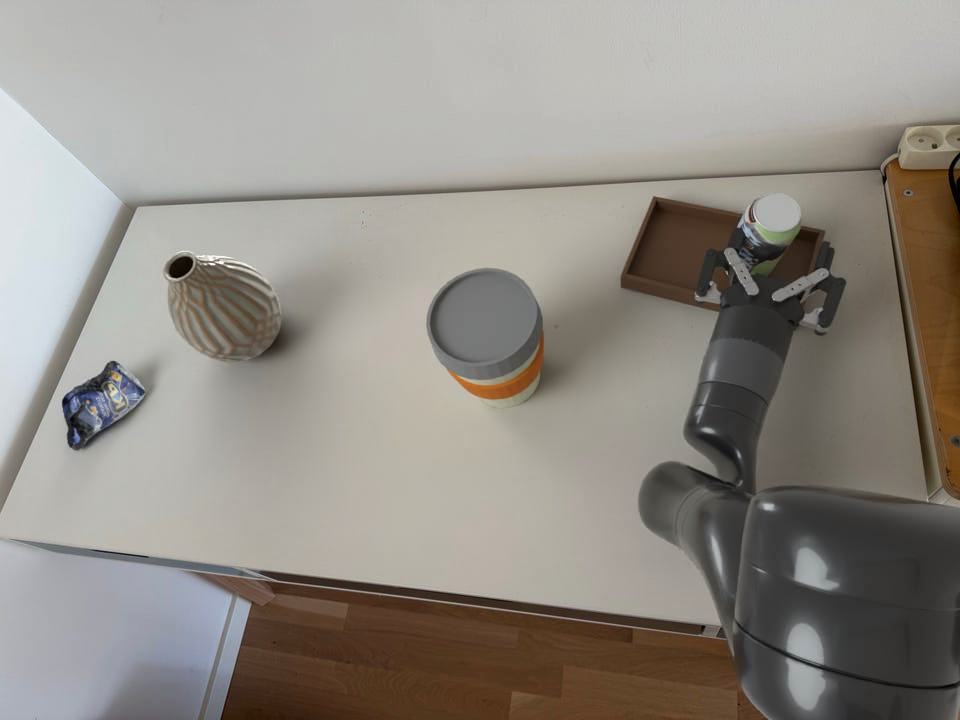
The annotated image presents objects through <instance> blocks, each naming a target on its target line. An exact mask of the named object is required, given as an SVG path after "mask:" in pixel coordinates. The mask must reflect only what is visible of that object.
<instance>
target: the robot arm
mask: <svg viewBox="0 0 960 720" xmlns="http://www.w3.org/2000/svg"><path fill="white" fill-rule="evenodd" d="M744 236H745V232H744V231H743V228H742V225H741V227H740V228H738V227H735V228H734V229H733V231H732V234H731V237H730V239H729V242H728V245H727V247H726V249H724V250H722V251H717V250H715V249H708V250H707V251H706V255H705V258H704V262H703V265H702V269H701V272H700V276H699V279H698V283H697V286H696V292H695V298H694V302H695V303H696V304H698V305H702V304H704V303H705V301H706V302H711V303H716V304H719V306H720V312H718V316H717V319H716V322H715V325H714V329H713V330H712V334H711V337H710V340H709V343H708V345H707V348H706V351H705V354H704V356H703V357H702V362H701V366H700V370H699V373H698V379H697V385H696V388H695V391H694V394H693V396H692V400H691V402H690V405H689V409H688V411H687V414H686V417H685V420H684V423H683V428H682V436H683V438H684V440H685V441H686V443H687V444H688V445H689V446H690V447H691V448H693V449H694V450H695V451H696V452H697V453H699V454H700V455H702V456H703V457H704V458H706V460H708V461H709V462H710V463H711V464H712V465H713V466H714V469H715V470H716V475H717V476H715V475H712V474H710V473H709V472H706V471H703V470H701V469H698V468H696V467H694V466H692V465H689V464H687V463H684V462H681V461H678V460H666V461H663V462H660V463H658V464H657V465H655V466H653V468H651V469H650V470H649V471H648V473H647V474H646V475H645V477H644V478H643V480H642V482H641V484H640V488H639V490H638V494H637V509H638V515H639V518H640V520H641V522H642V524H643V525H644V526H645V528H647V529H648V530H649V531H650V532H651V533H653V534H654V535H656V536H658V537H659V538H661V539H662V540H664V541H665V542H667V543H669V544H671V545H673V546H675V547H676V548H677V549H679V550H681V551H682V552H683V553H684V555H686V557H687V558H688V559H689V560H690V562H691V563H692V564H693V566H695V567H696V569H697V570H698V571H699V573H700V574H701V576H702V578H703V580H704V582H705V585H706V587H707V589H708V592H709V594H710V596H711V600H712V602H713V604H714V607H715V610H716V613H717V616H718V618H719V623H720V624H721V627H722V629H723V630H722V631H723V633H724V637H725V639H726V643H727V647H728V651H729V656H730V659H731V660H730V661H731V664H732V668H733V672H734V674H735V677H736V680H737V682H738V684H739V686H740V688H741V690H742V691H743V693H744V695H745V696H746V697H747V698H748V700H749V702H750V703H751V704H752V705H753V706H754V707H755V708H756V709H757V710H758V711H759V712H760V713H761V714H762V715H763V716H764V717H765V718H766V719H767V720H958V718H959V712H960V507H958V506H952V505H946V504H941V503H937V502H936V503H935V502H930V501H925V500H919V499H914V498H908V497H903V496H899V495H892V494H886V493H880V492H874V491H869V490H868V491H867V490H860V489H853V488H846V487H840V486H831V485H830V486H829V485H820V484H819V485H818V484H783V485H781V484H780V485H777V486H772V487H768V488H764V489H763V490H761V491H759V492H758V489H757V461H758V460H757V459H758V447H759V441H760V438H761V435H762V430H763V428H764V425H765V421H766V417H767V414H768V410H769V408H770V405H771V403H772V401H773V398H774V396H775V394H776V393H777V389H778V386H779V383H780V381H781V377H782V374H783V370H784V367H785V363H786V360H787V356H788V353H789V349H790V346H791V343H792V339H793V336H794V333H795V331H796V330H795V328H796V327H797V328H798V327H800V326H802V327H806V328H810V329H813V332H814V334H815V335H816V336H818V337H824V336H826V335H827V333H828V331H829V329H830V327H831V326H832V324H833V322H834V319H835V316H836V314H837V311H838V308H839V305H840V302H841V299H842V297H843V294H844V291H845V288H846V286H847V280H846V279H845V278H844V277H840V276H838V277H835V276H834V275H833V274H832V273H831V267H832V265H833V260H834V256H835V253H836V251H835V247H831V246H830V245H831V241H827V240H823V242H822V245H821V248H820V250H819V253H818V256H817V260H816V263H815V266H814V270H813V273H811V274H810V275H808V276H806V277H805V276H803V277H801V278H799V279H798V280H796V281H794V282H793V283H791V284H789V283H787V282H786V280H785V279H781V278H770V277H768V276H766V275H763V274H760V273H755V275H750V274H749V272H748V270H747V268H746V266H745V264H744V263H743V262H741V260H740V258H739V253H740V250H741V247H742V243H743V239H744ZM715 267H723V269H724V271H725V273H726V275H727V277H728V282H729V285H730V287H729V288H727V289H725V290H724V291H723V292H722V293H720V292H718V291H717V285H716V284H715V283H714V282H713V281H711V279H712V276H713V272H714V268H715ZM819 291H821V292H824V293H825V294H826V296H825V298H824V302H823V304H822V307H821V306H820V307H816V308H814V309H813V310H812V311H811V312H809V313H805V311H806V310H805V309H804V308H803V307H802V305H801V303H802V302H803V301H805V300H806V301H807V299H808V298H809V297H810V296H812V295H814V294H816V293H817V292H819ZM806 301H805V302H806ZM797 328H796V329H797ZM794 330H795V331H794Z"/></svg>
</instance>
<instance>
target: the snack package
mask: <svg viewBox="0 0 960 720" xmlns="http://www.w3.org/2000/svg"><path fill="white" fill-rule="evenodd" d="M146 393H147V391H146V389H145V386H144V385H143V384H142V383H141V382H140V380H139V379H138V378H137V377H136V376H135V375H134V374H132V373H131V372H130V371H129V370H127V369H126V368H125V367H124V366H123V365H122V364H121V363H120V362H118V361H116V360H110V361H108V362H107V363H106V364H105V366H104V368H103V369H102V371H101V373H99V374H98V375H96V376H93V377H92V378H90V379H88V380H87V381H85V382H83V383H82V384H80V385H76V386H74V387H73V388H72V390H70V391H69V392H67V393H66V394H65V395H63V398H62V400H61V408H62V413H63V417H64V420H65V424H66V426H67V432H66V441H67V445H68V447H69V449H72V450H73V451H76V452H78V451H80V450H81V449H82V448H83V446H84V445H86V443H87V442H88V441H89V440H90V439H91V438H93V436H95V435H96V434H97V433H99V432H100V431H102V430H104V429H105V428H107V427H109V426H110V425H112V424H114V423H115V422H116V421H118V420H120V419H122V418H124V416H126V415H127V414H129V412H130V411H132V410H133V409H134V408H135V407H136V406H137V405H138V404H139V403H140V402H141V401H142V400H143V399H144V397H145V395H146Z"/></svg>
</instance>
